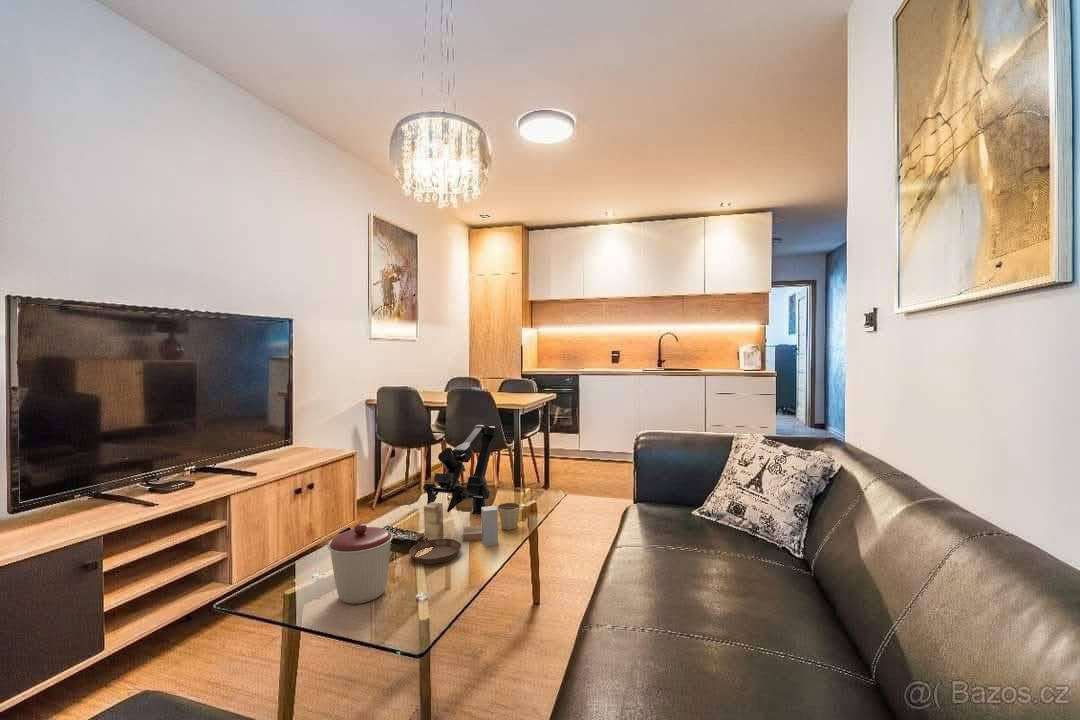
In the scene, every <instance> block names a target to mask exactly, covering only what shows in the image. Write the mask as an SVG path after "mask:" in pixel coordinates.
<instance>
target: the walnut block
mask: <svg viewBox="0 0 1080 720" xmlns="http://www.w3.org/2000/svg"><path fill="white" fill-rule="evenodd" d="M462 529H463V531H462V542H475V541H482V525H475V526H473V525H472V526H464V527H463V528H462Z"/></svg>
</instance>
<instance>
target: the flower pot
mask: <svg viewBox="0 0 1080 720" xmlns="http://www.w3.org/2000/svg"><path fill="white" fill-rule="evenodd" d="M496 508H497V512H498V513H499V514H498V515H499V517H500V518H499V519H500V524H501V529H502V530H504V529H505V530H508V531H511V529H513V530H515V529H514V528H516V529H517V528H518V522H519V513H520V512H519V511H520V508H521V504H520V503H517V502H503V503H499V504H497V506H496ZM505 530H504V531H505Z"/></svg>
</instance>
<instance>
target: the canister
mask: <svg viewBox="0 0 1080 720" xmlns="http://www.w3.org/2000/svg"><path fill="white" fill-rule="evenodd" d="M393 539H394V534H393V533H392V532H391V530H390V531H389V530H387V529H385V528H383V527H378V526H377V527H376V526H367V525H366V524H365V523H357V524H356V525H355V526H354V527H353V529H349V530H346V531H343V532H341V533H339V534H337V535H336V536H334V538H332V539H330V541H328V543H327V549H328V550H329V551H330V559H331V564H332V571H333V577H334V583H335V587H336V588H335V589H336V592H337V595H338V597H339V598H340V600H341V601H343V602H344V603H346V604H347V603H348V604H351V605H352V604H353V605H354V604H357V605H358V604H364V603H368V602H371V601H373V600H375V599H377V598H379V597H380V596H381V595H382V594H384V592H385V590H386V588H387V585H388V579H389V571H390V558H391V557H390V556H391V555H390V554H391V543H392V542H391V541H392V540H393Z"/></svg>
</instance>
